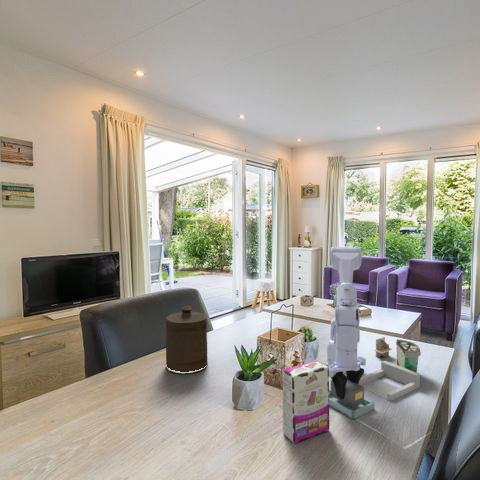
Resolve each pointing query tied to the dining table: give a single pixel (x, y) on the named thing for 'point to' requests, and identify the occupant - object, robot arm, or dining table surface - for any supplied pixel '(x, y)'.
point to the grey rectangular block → (350, 394)
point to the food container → (407, 354)
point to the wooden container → (186, 340)
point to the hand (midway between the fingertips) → (346, 394)
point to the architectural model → (382, 347)
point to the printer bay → (394, 373)
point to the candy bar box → (305, 401)
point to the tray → (349, 410)
